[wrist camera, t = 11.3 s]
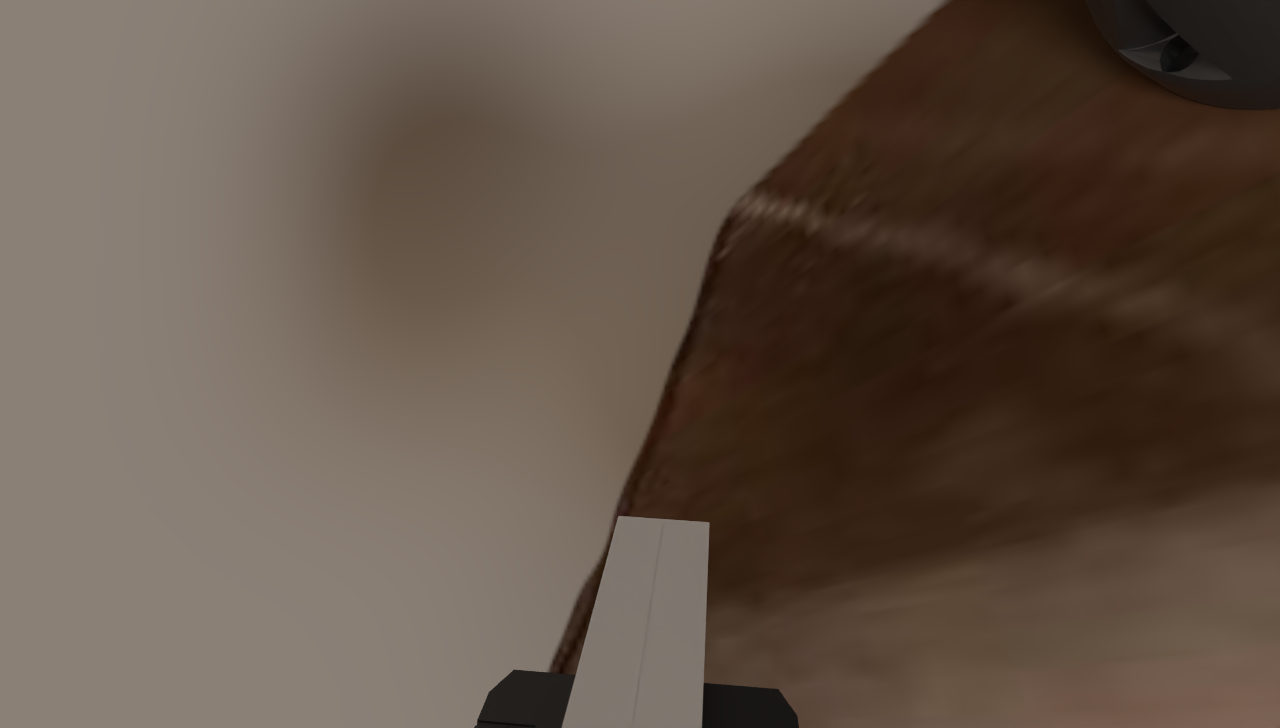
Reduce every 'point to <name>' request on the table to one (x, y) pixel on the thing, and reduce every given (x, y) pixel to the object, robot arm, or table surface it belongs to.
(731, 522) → the table surface
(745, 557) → the table surface
